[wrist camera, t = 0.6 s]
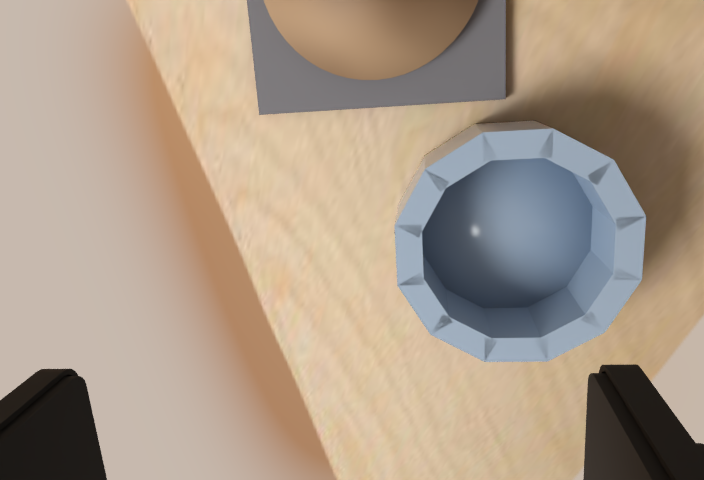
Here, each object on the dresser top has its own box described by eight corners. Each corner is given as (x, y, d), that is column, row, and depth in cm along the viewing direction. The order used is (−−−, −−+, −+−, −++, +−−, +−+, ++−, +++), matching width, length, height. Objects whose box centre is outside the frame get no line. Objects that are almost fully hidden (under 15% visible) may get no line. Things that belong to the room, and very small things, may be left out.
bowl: (394, 128, 34) (390, 137, 29) (618, 115, 32) (652, 122, 28) (404, 325, 37) (401, 362, 32) (607, 322, 36) (636, 360, 31)
